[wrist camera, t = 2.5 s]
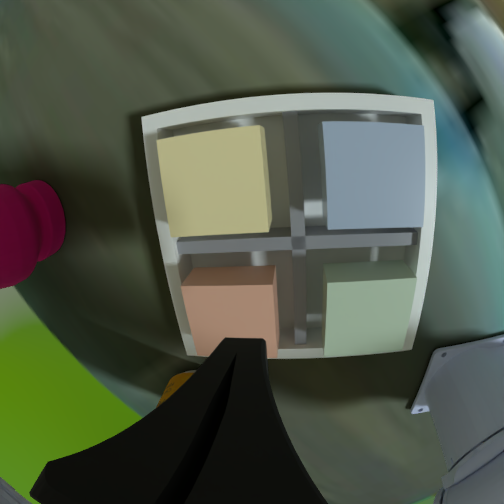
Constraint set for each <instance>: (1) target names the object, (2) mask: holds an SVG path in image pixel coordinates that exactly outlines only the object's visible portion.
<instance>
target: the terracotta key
mask: <svg viewBox="0 0 504 504" xmlns="http://www.w3.org/2000/svg"><path fill="white" fill-rule="evenodd" d="M181 291H182V295H183V300H184V304H185V308H186V312H187V317H188V321H189V325H190V329H191V333H192V337H193V341H194V345H195V348H196V352H197V356H210V354H211V353H212V352H213V351H214V350H215V348H216V347H217V346H218V345H219V343H220V342H221V341H222V340H223V339H224V338H225V337H228V338H263V339H264V340H265V341H266V346H267V358H277V356H278V346H279V335H280V332H279V314H278V297H277V281H276V265H267V266H235V267H197V268H193V270H192V271H191V272H190V274H189V275H188V276H187V278H186V279H185V280H184V282H183V283H182V285H181Z"/></svg>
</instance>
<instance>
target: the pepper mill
mask: <svg viewBox="0 0 504 504" xmlns="http://www.w3.org/2000/svg"><path fill="white" fill-rule="evenodd" d="M65 232H66V229H65V216H64V210H63V207H62V205H61V202H60V199H59V197H58V196H57V194H56V192H55V191H54V190H53V189H52V187H51V186H50V185H48V184H47V183H45V182H44V181H41V180H34V181H30V182H27V183H23V184H20V185H18V186H17V187H16V188H14V187H12V186H10V185H7V184H0V289H2V288H6V287H10V286H14V285H16V284H17V283H19V282H21V281H23V280H25V279H26V278H28V277H29V276H30V275H31V273H32V272H33V270H34V268H35V266H36V263H37V261H42V260H44V259H46V258H47V257H49V256H51V255H52V254H54V253H56V252H57V251H58V250H59V249H60V247H61V245H62V243H63V241H64V236H65Z"/></svg>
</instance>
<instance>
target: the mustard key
mask: <svg viewBox="0 0 504 504" xmlns="http://www.w3.org/2000/svg"><path fill="white" fill-rule="evenodd" d="M157 149H158V157H159V165H160V173H161V180H162V187H163V194H164V200H165V206H166V213H167V219H168V224H169V230H170V236H171V237H187V236H204V235H222V234H241V233H262V232H269V229H270V225H271V222H272V210H271V197H270V185H269V173H268V161H267V150H266V139H265V128H264V127H262V126H260V125H255V126H245V127H235V128H227V129H219V130H212V131H205V132H199V133H192V134H186V135H181V136H175V137H170V138H164V139H159V140H157Z"/></svg>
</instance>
